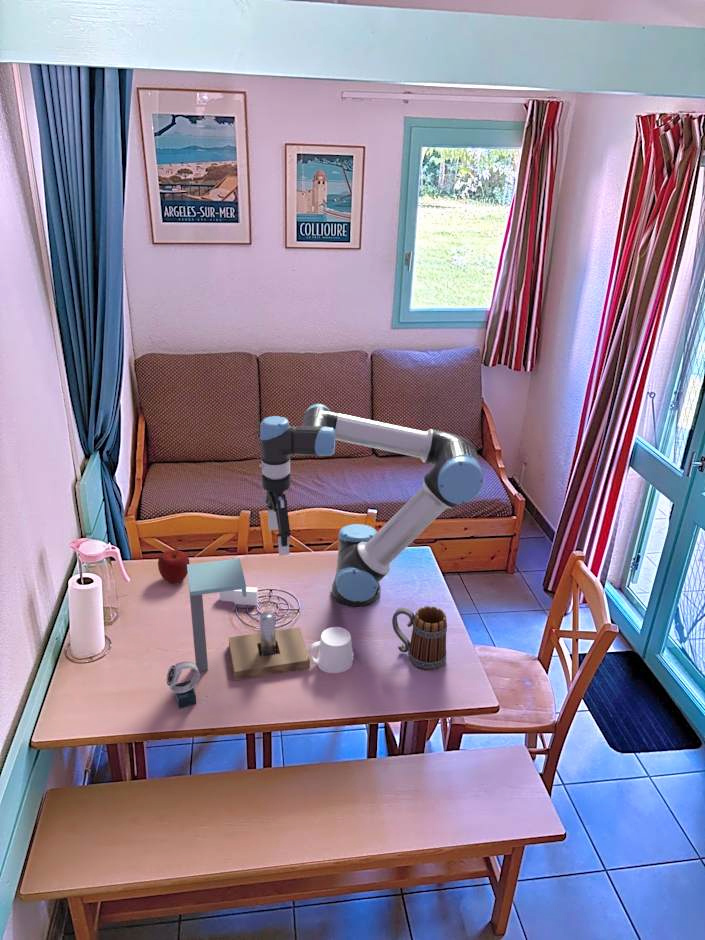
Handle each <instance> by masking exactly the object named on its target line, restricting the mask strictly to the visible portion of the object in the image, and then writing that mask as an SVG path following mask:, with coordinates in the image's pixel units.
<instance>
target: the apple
mask: <svg viewBox="0 0 705 940" xmlns="http://www.w3.org/2000/svg"><path fill="white" fill-rule="evenodd" d="M187 564H190V558H189V556H188V555H187V554H186V552H184V551H181V550H178V549H171V550H166V551H165V552H163V553H162V554H160V556H159V558H158V560H157V566H158V571H159V574H160V576H161V577H162V579H163V580H164V581H165V582H167V583H168V584H171V585H177V584H179V583H182V582H183V581H184V580H185V579H186V577H187V576H188V570H187Z"/></svg>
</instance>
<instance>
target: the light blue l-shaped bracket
mask: <svg viewBox="0 0 705 940" xmlns="http://www.w3.org/2000/svg"><path fill="white" fill-rule="evenodd" d="M187 570H188V573H187V578H188V588H189V590H188V591H189V600H190V610H191V611H190V613H191V623H192V634H193V635H192V637H193V648H194V658H195V660H194V661H195V665H196V666H197V668H198V671H199V673H200V672H205V671H206V672H207V671H209V665H208V651H207V639H206V638H207V637H206V636H207V635H206V625H205V614H204V600H203V599H204V597H203V595H208V594H216V593H217V594H218V593H220V592H225V591H232V590H240V589H242V594H243V597H246V587H247V583H246V579H245V575H244V571H243V565H242V562H241V558H231V559H223V560H212V561H206V562H199V563H198V562H197V563H189V564H187Z"/></svg>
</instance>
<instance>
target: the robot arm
mask: <svg viewBox="0 0 705 940" xmlns="http://www.w3.org/2000/svg"><path fill="white" fill-rule="evenodd" d="M259 425H260V426H259V442H260V458H261V463H259V465H258V466H259V468H261V473H262V474H261V483H262V488H263V490H265V491H266V496H265V503H266V507H267V522H268V523H267V524H268V531H270V532H271V531H275V530H278V533H277V534H276V537H277V540H278V542H277V543H278V556H281V557H282V556H286V555H290V537H291V535H292V534H291V528H290V521H289V519H290V518H289V512H288V501H287V497H286V494H285V493H284V492H286V491H287V490H289V489H290V488H291V456H311V457H327V456H329V457H330V456H333V455H334V454H335V453H336V452H335V451H336V441H339V442H343V443H349V444H353V445H358V446H363V447H366V448H367V447H368V448H373V449H377V450H381V451H385V452H391V453H396V454H400V455H405V456H408V457H409V456H410V457H414V458H418V459H420V460H421V462H422V463H424V464H429V465H432V466H433V467H432V468H431V469H430V471H428V472H427V473H426V474H425V475H424V477H423V479H422V481H423V483H422V484H423V485H422V486H421V487H420V488H419V490H418V491H417V492H416V493H415V494H414V495H412V497H410V499H409V500H408V501H407V502H406V503H405V504H404V505H403V506H401V508H400V509H399V510H398V511H396V512H395V514H394V515H392V517H391V518H390V519H389V520H388V521H387V522H386V523H385V524H384V525H383V526H382V527H381V528H380V529H379V530H378V531H377V530H376V529H375V528H374V527H373V526H370V525H367V524H362V523H354V524H353V523H351V524H348V525H344V526H343V527H342V528H340V530H339V533H338V536H337V538H338V547H337V548H338V549H337V559H336V560H337V561H336V562H337V563H336V570H335V571H336V572H335V577H334V580H333V582H332V584H331V596H332V598H333V599H334V600H335V601H336V602H337V603H338V604H341V605H342V606H345V607H349V608H359V609H360V608H365V607H369V606H372V605H374V604H375V603H377V602H378V600H379V599H380V597H381V583H380V581H382V580H383V579H384V578H385V577H386V575H388V574H389V572H390V570H391V569H390V564H392V562H393V561H394V560H395V559H396V558H397V557H399V555H400V554H402V552H403V551H404V550H405V549H406V548H407V547H408V546H409V545H411V543H412V542H414V540H416V538H417V537H419V536H420V535H421V534H422V532H423V531H424V530H426V529H427V528H428V527H429V526H430V525H431V523H433V522H434V521H435V520H436V519H437V518H438V517H439V516H440V515H441V514H442V513H443V512H444V511H446V510H447V509H455V508H456V507H457V506H459V505H461V504H466V503H470V502H471V501H473V500H474V499H476V497H478V495H479V494H480V493H481V491H482V488H483V486H484V485H483V484H484V471H483V468H482V465H481V462H480V460H479V455H478V452H477V449H476V447H475V446H474V444H473V443H471V441H469V440H468V439H467V438H465V437H462V436H460V435H457V434H454V433H451V432H447V431H443V430H438V429H434V428H429V429H428V430H420V429H417V428H413V427H412V428H411V427H405V426H401V425H397V424H393V423H392V424H391V423H386V422H382V421H378V420H371V419H367V418H362V417H358V416H354V415H349V414H344V413H343V414H342V413H340V412H334V411H331V410H330V408H329V407H328V406H326V405H325V404H322V403H315V404H312V405H310V406H309V407H308V408H307V409H306V411H305V413H304V415H303V417H302V425H301V426H293V425H290V422H289V420H288V418H286V417H285V416H284V417H283V416H279V415H274V416H273V415H272V416H268V417H265V418H263V419H262V421H261V422H260V424H259Z"/></svg>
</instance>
